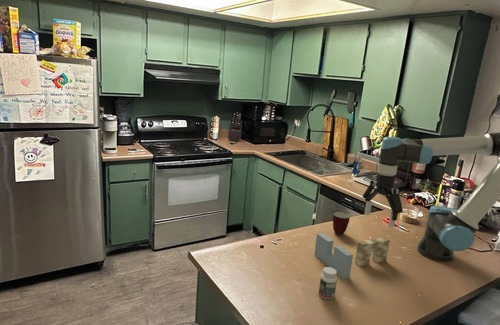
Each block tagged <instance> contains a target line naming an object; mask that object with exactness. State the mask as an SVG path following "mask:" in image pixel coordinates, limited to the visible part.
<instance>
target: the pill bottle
mask: <svg viewBox="0 0 500 325" xmlns="http://www.w3.org/2000/svg"><path fill="white" fill-rule="evenodd" d="M337 275H338V274H337V271H336V270H335V269H334V268H331V267H329V266H325V267H324V268H323V270H322V273H321V275H320V281H319V288H318V295H319V296H320V297H321V298H322V299H324V300H333V299H334V298H335V296H336V289H337V283H338V278H337Z"/></svg>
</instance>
